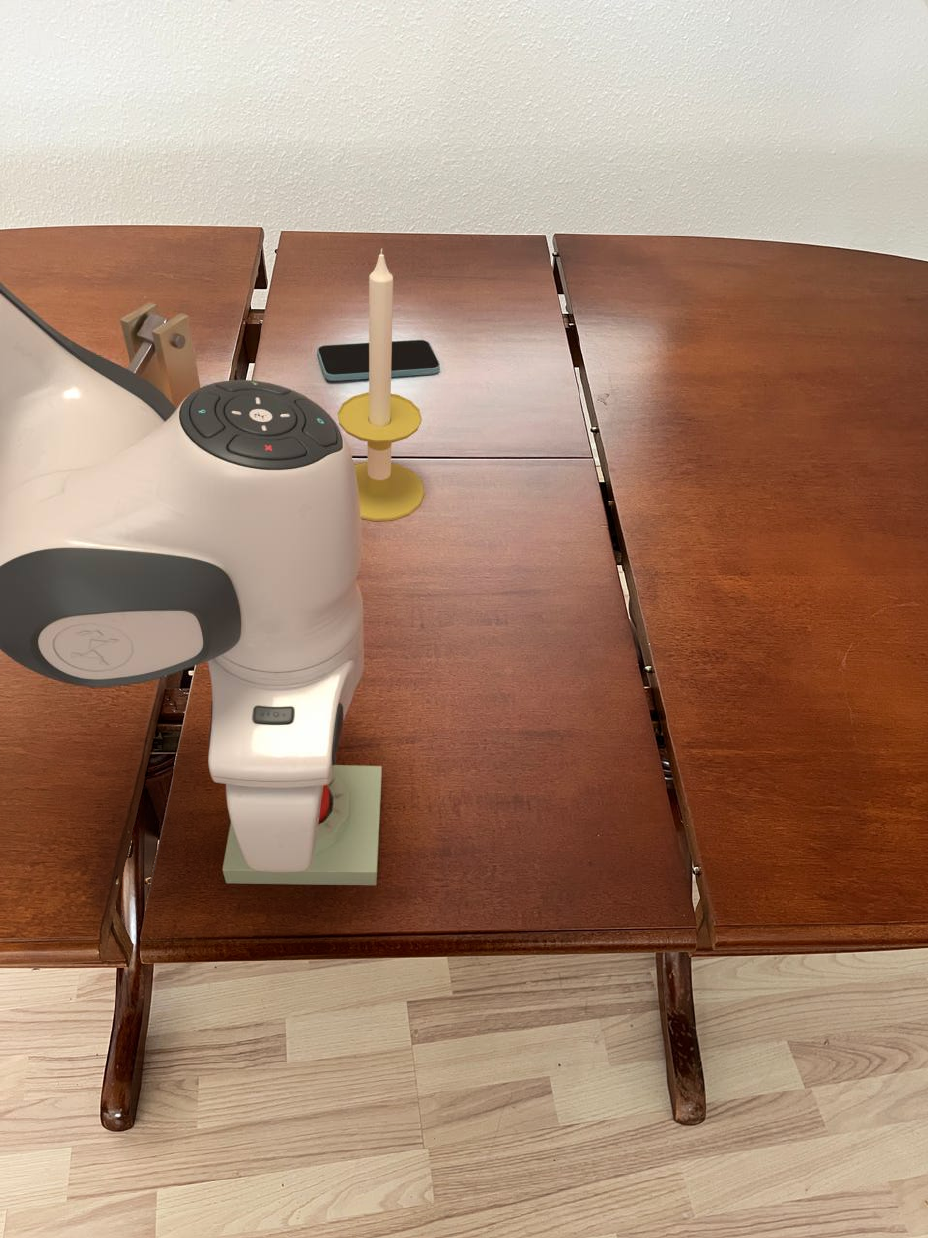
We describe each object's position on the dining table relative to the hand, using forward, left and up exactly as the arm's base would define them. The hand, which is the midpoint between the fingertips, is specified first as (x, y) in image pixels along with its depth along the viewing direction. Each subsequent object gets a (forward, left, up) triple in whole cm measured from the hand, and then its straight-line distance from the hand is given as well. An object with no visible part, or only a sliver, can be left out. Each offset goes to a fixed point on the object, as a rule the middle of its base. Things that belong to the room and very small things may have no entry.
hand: (303, 772), depth 60 cm
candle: (-16, +38, -9) cm, 42 cm away
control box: (0, 0, -8) cm, 8 cm away
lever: (-40, +30, +1) cm, 50 cm away
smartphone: (-29, +60, -8) cm, 67 cm away
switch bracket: (-40, +34, -8) cm, 53 cm away
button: (0, 0, -5) cm, 5 cm away
